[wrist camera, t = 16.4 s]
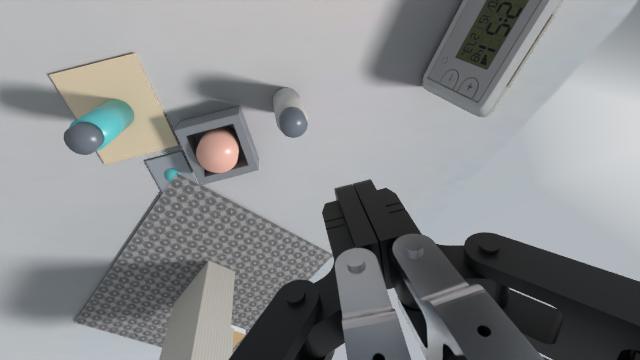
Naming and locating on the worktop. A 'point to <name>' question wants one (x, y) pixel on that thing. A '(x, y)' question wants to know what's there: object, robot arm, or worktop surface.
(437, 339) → the robot arm
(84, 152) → the marker teal
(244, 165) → the button housing
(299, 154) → the worktop surface
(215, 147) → the button
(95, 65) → the sketch pad
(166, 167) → the card
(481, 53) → the digital clock
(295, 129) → the marker grey
